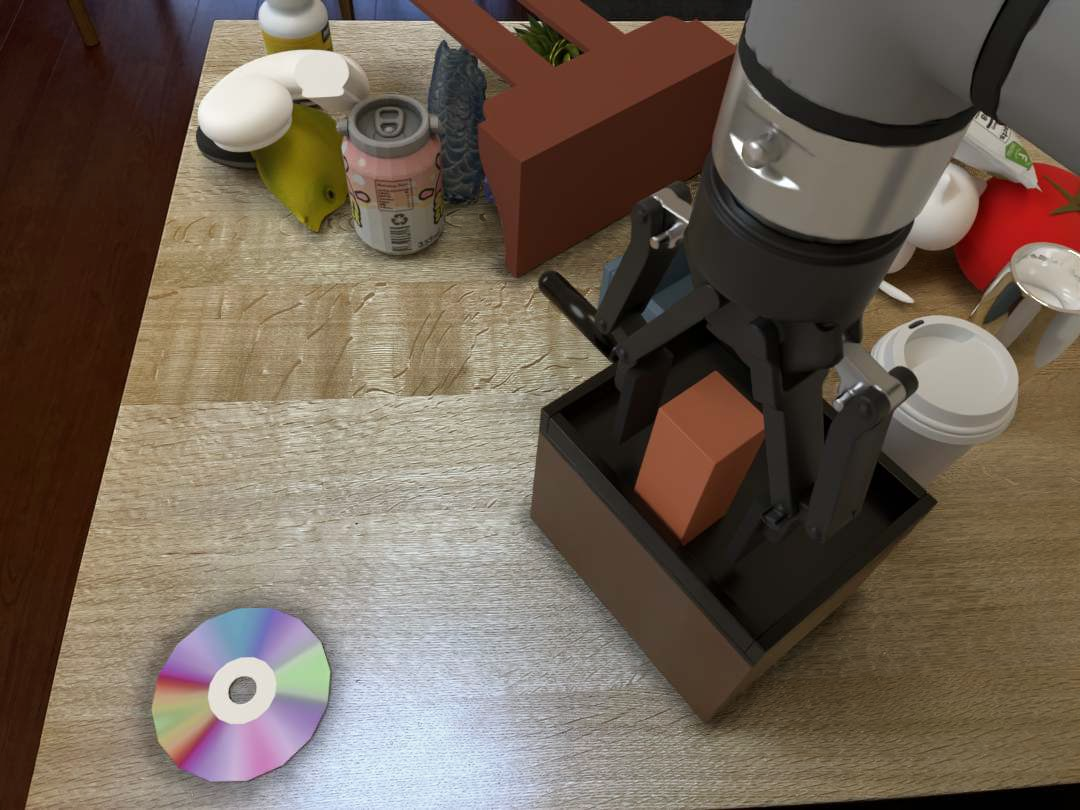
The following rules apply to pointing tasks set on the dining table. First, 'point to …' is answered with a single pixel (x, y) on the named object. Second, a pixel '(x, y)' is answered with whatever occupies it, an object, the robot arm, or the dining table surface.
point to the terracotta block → (699, 456)
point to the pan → (699, 566)
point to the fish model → (458, 120)
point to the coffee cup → (946, 392)
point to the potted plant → (547, 43)
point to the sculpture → (277, 96)
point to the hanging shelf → (587, 118)
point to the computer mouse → (226, 152)
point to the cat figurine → (940, 220)
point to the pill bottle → (295, 27)
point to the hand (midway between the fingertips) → (687, 485)
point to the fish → (306, 166)
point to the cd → (256, 726)
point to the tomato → (1020, 221)
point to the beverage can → (394, 173)
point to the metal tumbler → (1033, 305)
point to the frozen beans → (996, 152)
